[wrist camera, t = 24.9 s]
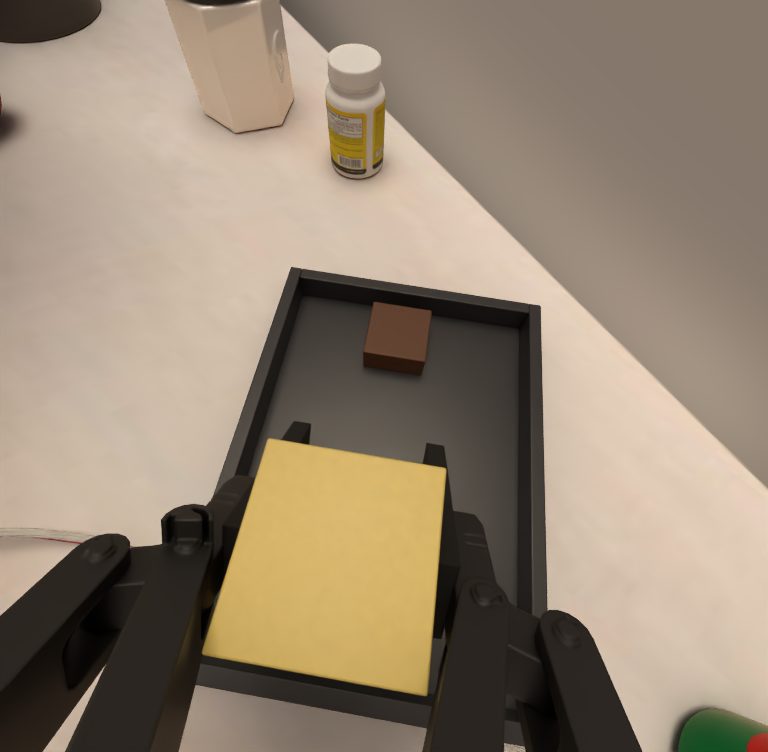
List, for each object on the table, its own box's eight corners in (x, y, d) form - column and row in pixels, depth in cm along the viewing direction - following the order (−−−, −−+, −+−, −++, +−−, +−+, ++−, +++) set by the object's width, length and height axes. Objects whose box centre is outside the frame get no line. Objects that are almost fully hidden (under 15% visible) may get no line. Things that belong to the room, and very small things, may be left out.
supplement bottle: (368, 141, 38) (369, 35, 30) (392, 171, 36) (399, 66, 28) (323, 154, 37) (311, 47, 29) (344, 186, 35) (339, 81, 27)
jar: (278, 140, 37) (242, -33, 26) (194, 128, 37) (126, -49, 27) (302, 87, 41) (280, -83, 30) (226, 76, 41) (178, -96, 31)
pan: (175, 664, 19) (150, 676, 17) (296, 289, 30) (290, 266, 27) (529, 730, 19) (551, 752, 17) (527, 325, 29) (541, 305, 27)
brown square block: (363, 366, 27) (362, 351, 25) (373, 317, 28) (373, 301, 27) (421, 375, 26) (425, 361, 25) (427, 326, 28) (432, 310, 26)
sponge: (282, 617, 17) (199, 655, 8) (309, 502, 20) (267, 436, 11) (393, 637, 17) (428, 697, 8) (408, 519, 20) (447, 467, 11)
